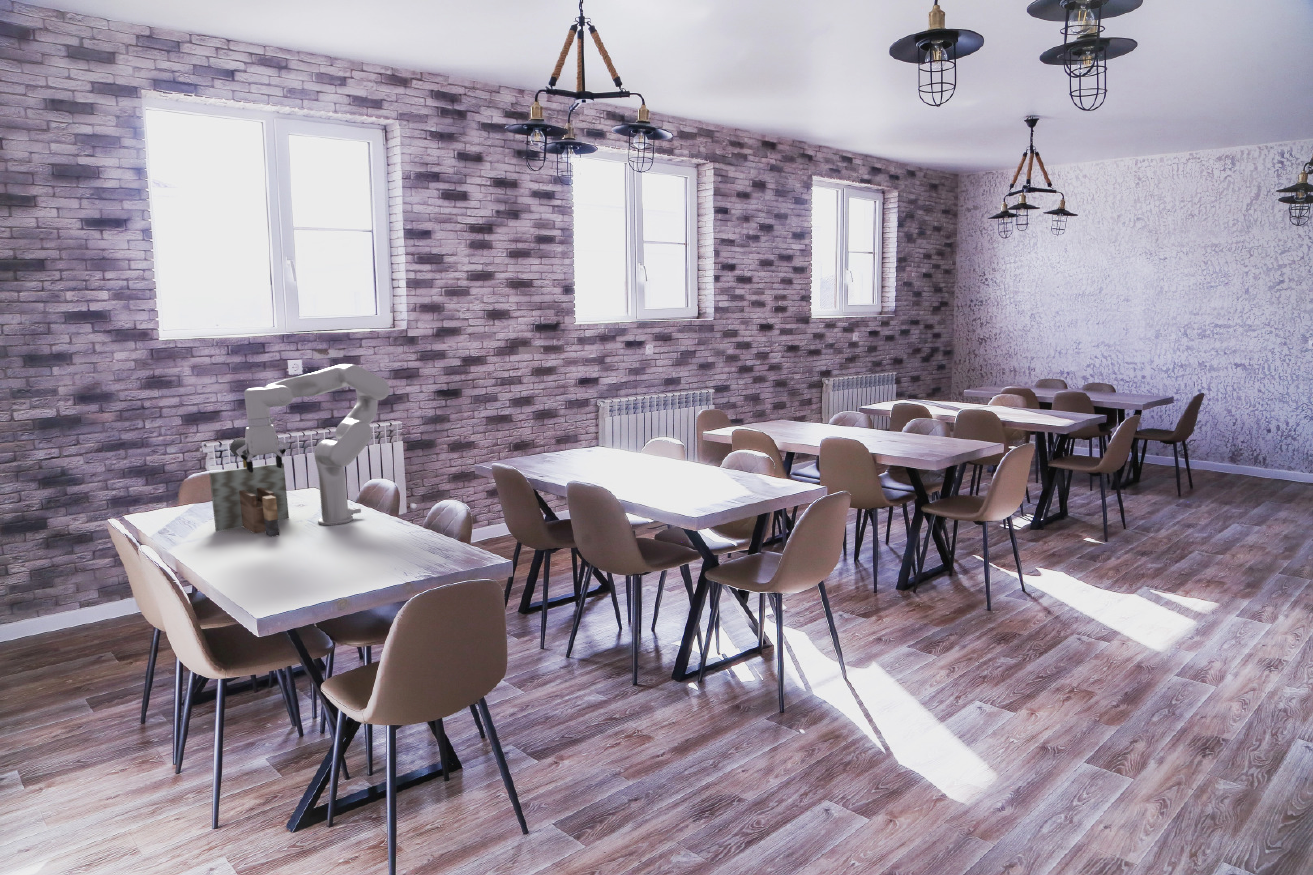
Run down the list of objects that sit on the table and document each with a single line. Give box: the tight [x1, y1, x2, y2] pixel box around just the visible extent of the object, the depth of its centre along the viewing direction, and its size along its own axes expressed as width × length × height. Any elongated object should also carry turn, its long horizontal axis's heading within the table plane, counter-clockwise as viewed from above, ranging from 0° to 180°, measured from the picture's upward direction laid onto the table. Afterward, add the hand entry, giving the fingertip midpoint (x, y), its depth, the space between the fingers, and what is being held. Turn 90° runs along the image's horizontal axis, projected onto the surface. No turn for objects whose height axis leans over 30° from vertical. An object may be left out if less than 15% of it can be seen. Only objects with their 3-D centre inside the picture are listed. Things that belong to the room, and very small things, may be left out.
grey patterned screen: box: [209, 462, 290, 534], centre depth 318 cm, size 26×16×22 cm, turn 132°
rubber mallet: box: [229, 438, 258, 468], centre depth 342 cm, size 12×8×30 cm, turn 50°
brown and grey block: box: [262, 496, 280, 538], centre depth 307 cm, size 3×5×14 cm, turn 42°
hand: (265, 469), depth 304 cm, fingers open, 9 cm apart
